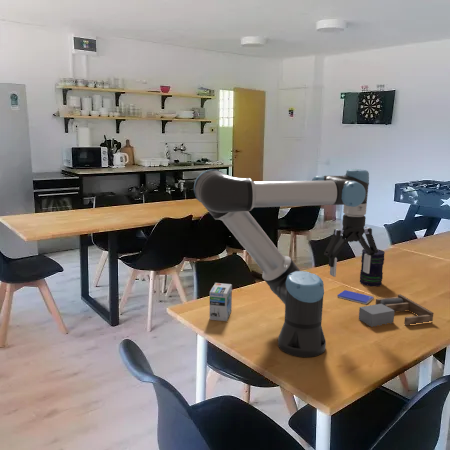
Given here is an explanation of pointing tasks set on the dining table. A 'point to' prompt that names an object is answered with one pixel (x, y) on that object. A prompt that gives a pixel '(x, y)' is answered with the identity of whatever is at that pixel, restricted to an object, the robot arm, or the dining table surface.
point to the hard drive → (355, 297)
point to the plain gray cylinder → (391, 301)
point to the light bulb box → (220, 301)
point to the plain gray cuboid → (376, 315)
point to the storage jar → (373, 270)
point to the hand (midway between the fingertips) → (349, 274)
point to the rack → (408, 304)
